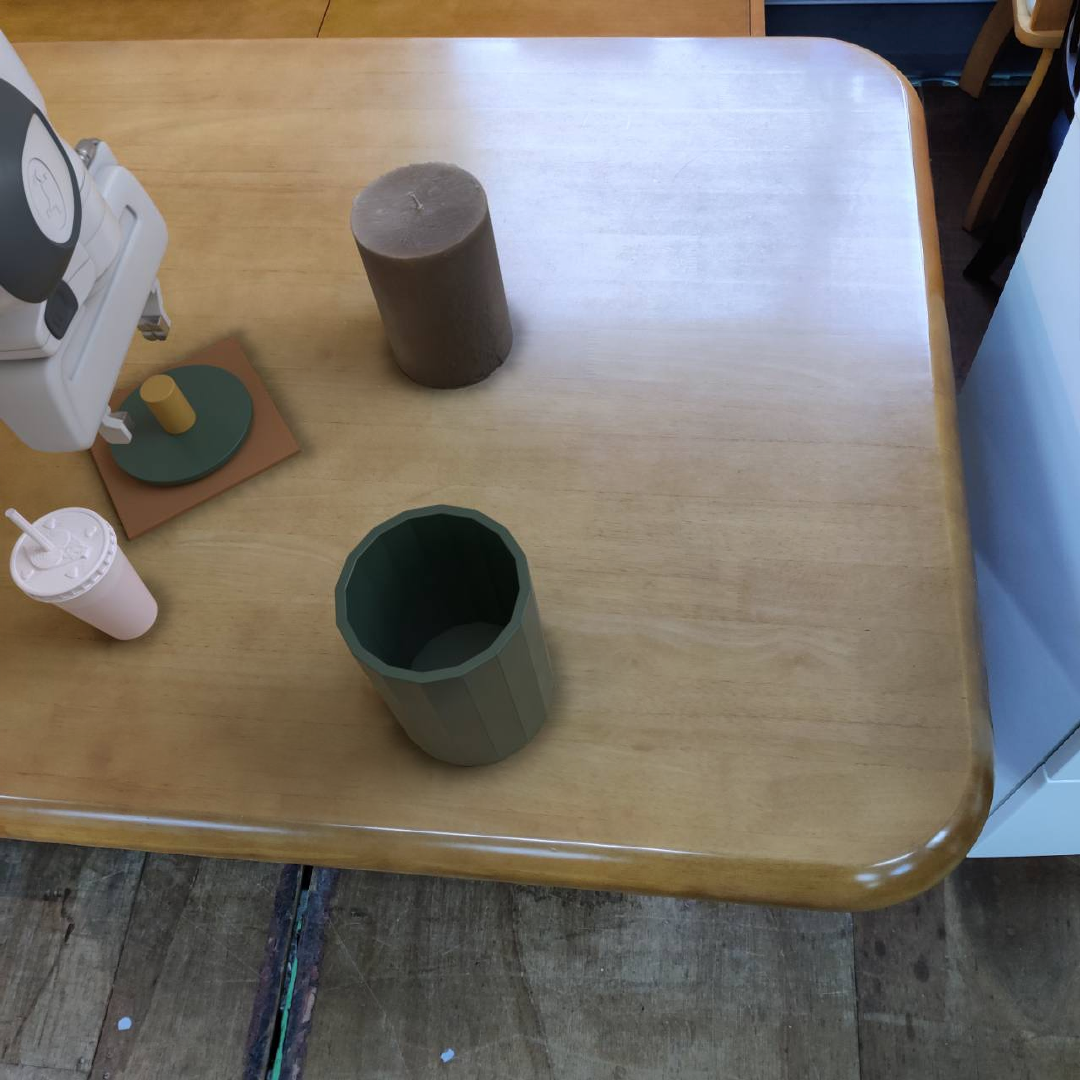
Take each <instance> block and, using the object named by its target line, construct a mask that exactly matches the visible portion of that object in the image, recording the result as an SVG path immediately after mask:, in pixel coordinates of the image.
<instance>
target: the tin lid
mask: <svg viewBox="0 0 1080 1080" xmlns="http://www.w3.org/2000/svg"><path fill="white" fill-rule="evenodd" d="M156 374H157V373H156ZM152 376H153V375H152ZM150 377H151V376H150ZM148 378H149V377H148ZM117 412H127V413H128V414H129V416H130V417H131V420H132V421H134V422H135V424H136V425H135V429H134V432H133V435H132V438H131V442H130V443H128V444H112V443H109V445H110V450H111V453H112V456H113V458H114V459H115V461H116V463H117V464H118V465H119V466H120V467H121V469H122V470H123V471H124V472H125V473H127V474H128V475H129V476H131V477H132V478H134V479H136V480H138V481H140V482H143V483H147V484H151V485H159V486H171V485H179V484H184V483H188V482H191V481H194V480H197V479H200V478H202V477H204V476H206V475H208V474H210V473H212V472H214V471H215V470H217V469H218V468H220V467H221V466H223V465H224V464H225V463H226V462H227V461H229V460H230V459H231V458H232V457H233V456H234V455H235V454H236V453H237V451H238V450H239V449H240V448H241V446H242V445H243V443H244V442H245V440H246V438H247V436H248V434H249V432H250V429H251V426H252V422H253V414H254V410H253V403H252V399H251V396H250V394H249V392H248V390H247V388H246V387H245V385H244V384H243V383H242V381H241V380H240V379H239V378H238V377H236V376H235V375H234V374H232V373H230V372H228V371H227V370H225V369H222V368H219V367H215V366H210V365H187V366H181V367H177V368H173V369H170V370H167V371H164V372H162V373H160V374H157V375H156V376H153V377H151V378H149V379H148V380H146V381H145V382H144V383H142V384H141V385H140V386H138V387H137V388H136V389H135V390H134V391H133V392H132V393H131V394H129V395H128V396H127V398H126V399H125V400H124V401H123V403H122V404H121V405H120V407H119V408H118V410H117Z"/></svg>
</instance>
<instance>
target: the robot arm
mask: <svg viewBox="0 0 1080 1080" xmlns="http://www.w3.org/2000/svg"><path fill="white" fill-rule="evenodd" d="M169 240H170V239H169V231H168V227H167V223H166V221H165V218H164V217H163V215H162V214H161V212H160V211H159V209H158V208H157V206H156V205H155V203H154V201H153V200H152V198H151V197H150V195H149V194H148V193H147V191H146V189H145V188H144V187H143V185H142V184H141V182H140V181H139V180H138V179H137V178H136V177H135V174H133V172H131V171H130V170H129V169H128V168H126V167H125V166H123V165H120V164H119V161H118V160H117V158H116V157H115V154H114V153H113V151H112V149H111V147H110V146H109V145H108V144H107V142H105V140H104V141H103V140H101V139H99V138H96V137H89V138H82V139H80V140H79V141H78V142H77V143H76V145H75V146H74V147H72V146H71V144H70V143H69V142H67V141H66V140H65V139H64V138H63V137H62V136H61V135H60V134H59V132H57V130H56V129H55V127H54V126H53V124H52V123H51V120H50V117H49V114H48V110H47V107H46V102H45V100H44V97H43V94H42V92H41V90H40V89H39V87H38V85H37V84H36V82H35V80H34V79H33V77H32V76H31V73H30V72H29V71H28V69H27V67H26V66H25V64H24V62H23V61H22V59H21V58H20V56H19V55H18V53H17V51H16V50H15V48H14V47H13V45H12V44H11V42H10V40H9V39H8V38H7V37H6V35H5V34H4V32H3V30H2V29H1V28H0V419H1V420H2V422H3V423H4V424H5V425H6V426H7V427H8V428H9V429H10V430H11V432H12V433H13V434H14V435H15V436H16V437H17V438H18V439H19V440H20V441H21V442H22V443H23V444H25V445H26V446H27V447H29V449H31V450H34V451H37V452H43V453H60V454H61V453H76V452H84V451H87V450H89V449H90V448H91V446H92V445H93V443H94V440H95V438H96V435H97V432H99V433H100V434H101V435H102V436H103V438H104V439H105V440H106V441H107V442H109V443H112V444H128V443H130V442H131V438H132V435H133V432H134V429H135V425H136V424H135V422H134V421H132V420H131V417H130V416H129V414H128V413H127V412H116V413H112V412H110V411H111V408H110V407H109V405H108V403H109V400H110V397H111V396H112V395H113V392H114V389H115V387H116V384H117V381H118V378H119V376H120V373H121V371H122V368H123V365H124V363H125V360H126V357H127V355H128V352H129V350H130V346H131V344H132V342H133V339H134V336H135V333H136V331H137V330H138V331H139V332H141V336H142V337H143V338H144V339H145V340H146V341H149V342H156V341H159V342H165V341H166V340H167V338H168V336H169V334H170V331H171V329H172V324H173V323H172V321H171V319H170V318H169V316H168V315H167V313H166V311H165V310H164V309H165V306H164V301H163V295H162V290H161V289H162V288H161V283H160V280H159V279H158V277H157V275H158V272H159V270H160V267H161V265H162V262H163V259H164V256H165V254H166V251H167V248H168V246H169V243H170V241H169Z"/></svg>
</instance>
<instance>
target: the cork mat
mask: <svg viewBox="0 0 1080 1080" xmlns="http://www.w3.org/2000/svg"><path fill="white" fill-rule="evenodd" d="M187 365H210V366H215V367H219V368H222V369H225V370H227V371H228V372H230V373H232V374H234V375H235V376H236V377H238V378H239V379H240V380H241V381H242V383H243V384H244V385H245V387H246V388H247V390H248V392H249V394H250V396H251V399H252V403H253V410H254V414H253V422H252V426H251V429H250V432H249V434H248V436H247V438H246V440H245V442H244V443H243V445H242V446H241V448H240V449H239V450H238V451H237V453H236V454H235V455H234V456H233V457H232V458H231V459H230V460H229V461H227V462H226V463H225V464H224V465H223V466H221V467H220V468H218V469H217V470H215V471H214V472H212V473H210V474H208V475H206V476H204V477H202V478H200V479H197V480H194V481H191V482H188V483H184V484H179V485H171V486H159V485H151V484H147V483H143V482H140V481H138V480H136V479H134V478H132V477H131V476H129V475H128V474H127V473H125V472H124V471H123V470H122V469H121V467H120V466H119V465H118V464H117V463H116V461H115V459H114V458H113V456H112V453H111V450H110V445H109V442H107V441H106V440H105V439H104V438H103V436H102V435H101V434H100V433H99V432H97V435H96V438H95V440H94V443H93V445H92V446H91V448H89V449H90V451H91V454H92V456H93V458H94V459H93V460H94V461H95V464H96V466H97V468H98V470H99V473H100V474H101V477H102V481H103V482H104V484H105V487H106V489H107V491H108V494H109V496H110V498H111V500H112V503H113V506H114V508H115V510H116V512H117V515H118V517H119V519H120V521H121V524H122V526H123V529H124V531H125V533H126V536H127V538H128V539H129V541H130V542H132V541H134V540H137V539H138V538H140V537H142V536H144V535H147V534H148V533H150V532H151V531H153V530H155V529H157V528H160V527H162V526H163V525H165V524H167V523H169V522H170V521H172V520H175V519H177V518H178V517H181V516H183V515H184V514H186V513H188V512H190V511H192V510H193V509H195V508H198V507H199V506H201V505H204V504H205V503H207V502H209V501H211V500H213V499H214V498H217V497H219V496H221V495H222V494H224V493H226V492H228V491H230V490H232V489H234V488H236V487H238V486H240V485H241V484H243V483H246V482H248V481H249V480H251V479H253V478H255V477H257V476H259V475H261V474H262V473H265V472H266V471H268V470H270V469H272V468H274V467H276V466H277V465H279V464H282V463H284V462H286V461H288V460H289V459H291V458H293V457H295V456H297V455H299V454H301V453H302V449H301V448H300V446H299V444H298V443H297V441H296V439H295V438H294V436H293V434H292V432H291V430H290V429H289V427H288V426H287V424H286V421H284V419H283V416H282V415H281V413H280V412H279V410H278V408H277V406H276V405H275V404H274V401H273V400H272V398H271V396H270V394H269V393H268V391H267V390H266V387H265V385H264V384H263V382H262V381H261V379H260V378H259V375H258V374H257V372H256V370H255V369H254V367H253V365H252V364H251V362H250V360H249V358H248V357H247V355H246V353H245V352H244V350H243V348H242V346H241V345H240V343H239V342H238V339H237V338H236V336H235V335H233V336H230V337H228V338H227V339H224V340H222V341H220V342H218V343H215V344H214V345H211V346H210V347H208V348H206V349H204V350H202V351H200V352H198V353H195V354H193V355H191V356H189V357H187V358H185V359H184V360H181V361H179V362H177V363H175V364H173V365H171V366H169V367H167V368H165V369H163V370H161V371H159V372H157V373H155V374H153V375H151V376H148V377H146V378H145V379H143V380H141V381H139V382H136V383H135V384H133V385H131V386H129V387H126V388H125V389H123V390H121V391H118V392H117V393H114V394H112V395H111V397H110V400H109V403H108V405H109V407H110V408H111V411H110V412H112V413H116V412H117V410H118V408H119V407H120V405H121V404H122V403H123V401H124V400H125V399H126V398H127V396H128V395H129V394H131V393H132V392H133V391H134V390H135V389H136V388H137V387H138V386H140V385H141V384H142V383H144V382H145V381H146V380H148V379H149V378H151V377H153V376H156V375H157V374H160V373H162V372H164V371H167V370H170V369H173V368H177V367H181V366H187Z"/></svg>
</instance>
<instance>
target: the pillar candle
mask: <svg viewBox="0 0 1080 1080" xmlns="http://www.w3.org/2000/svg"><path fill="white" fill-rule="evenodd" d="M349 221H350V230H351V233H352V236H353V238H354V241H355V244H356V247H357V250H358V252H359V253H358V254H359V257H360V258H361V261H362V264H363V268H364V271H365V273H366V276H367V280H368V282H369V285H370V288H371V290H372V294H373V297H374V299H375V302H376V305H377V308H378V311H379V315H380V318H381V321H382V323H383V327H384V330H385V332H386V335H387V339H388V341H389V345H390V347H391V349H392V353H393V355H394V358H395V361H396V364H397V366H398V367H399V368H400V369H401V370H402V372H403V373H405V374H406V376H408V377H409V378H410V379H412V380H413V381H415V382H416V383H417V384H419V385H421V386H424V387H426V388H431V389H436V390H448V389H449V390H455V389H461V388H466V387H467V386H468V387H469V386H472V385H473V384H477V383H480V382H482V381H484V380H486V379H488V378H489V377H490V376H491V375H492V373H494V372H496V370H497V369H498V368H499V367H501V366H502V365H503V364H504V363H505V362H506V360H507V358H508V356H509V355H510V352H511V349H512V346H513V338H514V337H513V328H512V322H511V317H510V311H509V306H508V301H507V296H506V292H505V291H506V290H505V286H504V285H505V284H504V281H503V275H502V270H501V263H500V259H499V253H498V249H497V243H496V239H495V233H494V227H493V223H492V218H491V213H490V208H489V202H488V196H487V193H486V191H485V188H484V187H483V185H482V184H481V182H480V181H479V179H478V178H477V177H475V175H474V174H472V173H471V172H470V171H467V170H465V169H464V168H462V167H459V166H458V165H457V164H455V163H446V162H443V161H432V162H431V161H428V162H425V163H409V165H407V166H400V167H396V168H395V169H393V170H391V171H388V172H387V173H386V174H383V175H380V176H379V177H378V178H376V179H374V180H373V181H372V182H370V183H369V184H368V185H366V187H365V188H364V189H363V190H362V191H361V192H360V193H357V194H356V196H355V197H354V198H353V200H352V208H351V212H350V215H349Z"/></svg>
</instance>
